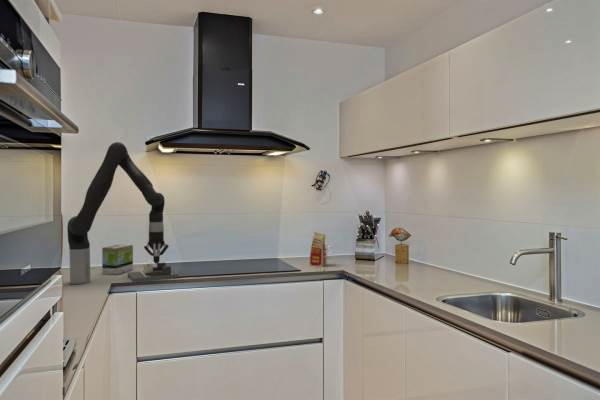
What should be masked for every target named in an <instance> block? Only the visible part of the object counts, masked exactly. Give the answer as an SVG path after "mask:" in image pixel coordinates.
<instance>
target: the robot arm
mask: <svg viewBox="0 0 600 400" xmlns="http://www.w3.org/2000/svg"><path fill="white" fill-rule="evenodd" d="M107 148H108V149H107V150H106V151H107V152H106V154H105V157H104V159H103V162H102V163H101V165H100V167H99V168H98V170H97V172H96V173H95V175H94V177H93V178H92V180H91V182H90V184H89V186H88V188H87V190H86V194H85V197H84V202H83V205H82V207H81V209H79V212H78V214H77V215H76V216H73V217H71V218H70V219H69V220H68V222H67V227H66V229H67V243H68V247H69V284H70V285H81V284H87V283H90V282H91V279H92V278H91V254H90V253H91V249H90V248H91V247H90V241H89V237H88V233H89V232H90V230H91V228H92V225H93V222H94V220H95V217H96V216H97V213H98V211H99V209H100V207H101V205H102V204H103V202H104V200H105V198H106V197H107V195H108V193H109V192H110V189H111V187H112V184H113V182H114V181H113V180H114V177H115V173H116V171H117V169H118V166H119V167H121V169H122V170H123V171H124V172H125V173H126V174H127V176H128V177H129V179H130V180H131V182H133V184H134V185H135V186H136V188H137V189H138V190H139V191H140V192H141V194H142V196H143V197H144V200H145V202H146V203H147V204H148V205H150V206H151V209H150V211H149V213H148V241H147V244H146V245H144V246H143V248H144V250H145V251H146V252H147V253H148V254H149V256H152V257H153V259H152V260H153V261H152V262H153V263H154V264H155V265H157V263H160V256H162V255H164V253H165V252H167V250H168V249H169V247H170V246H169V245H168V244H167V243H165V239H164V238H165V237H164V234H165V233H164V231H165V228H164V209H165V197H164V194H162V193H160V192H157V191H156V190H155V188H154V185H153V184H152V182H151V180H149V178H148V177H147V175H145V174H144V172H142V170H141V169H140V168H139V167H137V165H136V164H135V163H134V161H133V160H132V159H131V156H130V155H129V152H128V149H127V147H126V146H125V144H124V143H122V142H120V141H116V142H113V143H112V144H110V145H109V146H108V147H107ZM150 249H151V250H152V251H151V250H150Z"/></svg>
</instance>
